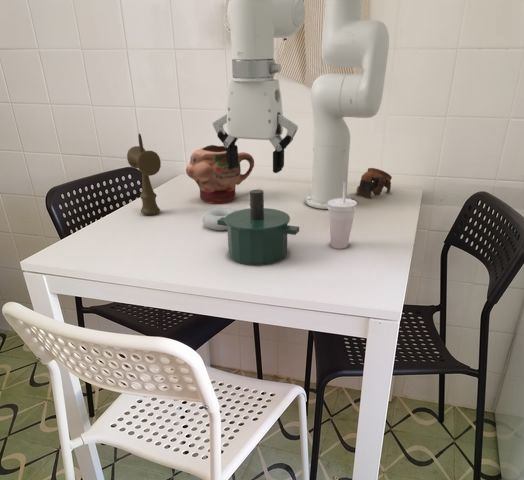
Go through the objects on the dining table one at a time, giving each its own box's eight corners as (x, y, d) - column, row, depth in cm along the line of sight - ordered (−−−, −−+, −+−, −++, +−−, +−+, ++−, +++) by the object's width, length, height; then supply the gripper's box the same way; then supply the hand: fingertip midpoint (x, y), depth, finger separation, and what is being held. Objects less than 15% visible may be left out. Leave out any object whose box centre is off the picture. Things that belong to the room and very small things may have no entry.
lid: (242, 210, 113) (241, 180, 110) (299, 216, 109) (299, 185, 105) (213, 229, 103) (211, 197, 100) (274, 237, 98) (274, 203, 95)
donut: (197, 231, 123) (237, 232, 121) (196, 217, 121) (236, 218, 119) (209, 218, 131) (247, 219, 129) (208, 205, 129) (246, 206, 127)
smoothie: (335, 252, 109) (339, 187, 102) (319, 243, 114) (322, 180, 106) (359, 247, 112) (365, 182, 104) (342, 238, 116) (347, 176, 109)
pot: (234, 239, 118) (232, 207, 114) (306, 249, 111) (307, 215, 107) (208, 258, 108) (205, 224, 104) (286, 271, 102) (286, 235, 98)
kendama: (146, 219, 131) (134, 137, 120) (133, 210, 138) (121, 132, 127) (168, 215, 133) (158, 134, 123) (154, 206, 140) (143, 129, 129)
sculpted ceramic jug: (244, 188, 154) (242, 140, 147) (263, 198, 145) (262, 147, 138) (182, 198, 146) (177, 148, 139) (199, 209, 137) (194, 156, 130)
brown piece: (349, 193, 149) (360, 166, 148) (375, 206, 152) (387, 179, 150) (364, 193, 138) (377, 163, 136) (393, 207, 141) (406, 178, 139)
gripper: (305, 70, 91) (302, 169, 100) (220, 69, 97) (225, 162, 106) (290, 73, 85) (288, 177, 94) (200, 72, 91) (207, 170, 100)
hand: (255, 169), depth 100 cm, fingers open, 9 cm apart
